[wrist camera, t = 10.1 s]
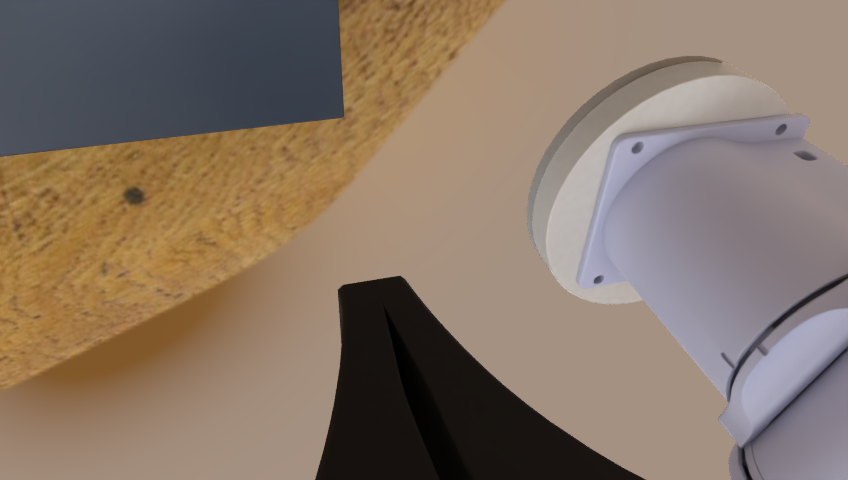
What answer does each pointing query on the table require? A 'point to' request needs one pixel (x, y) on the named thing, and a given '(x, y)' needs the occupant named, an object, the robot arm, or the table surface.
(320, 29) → the lid
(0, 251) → the table surface
